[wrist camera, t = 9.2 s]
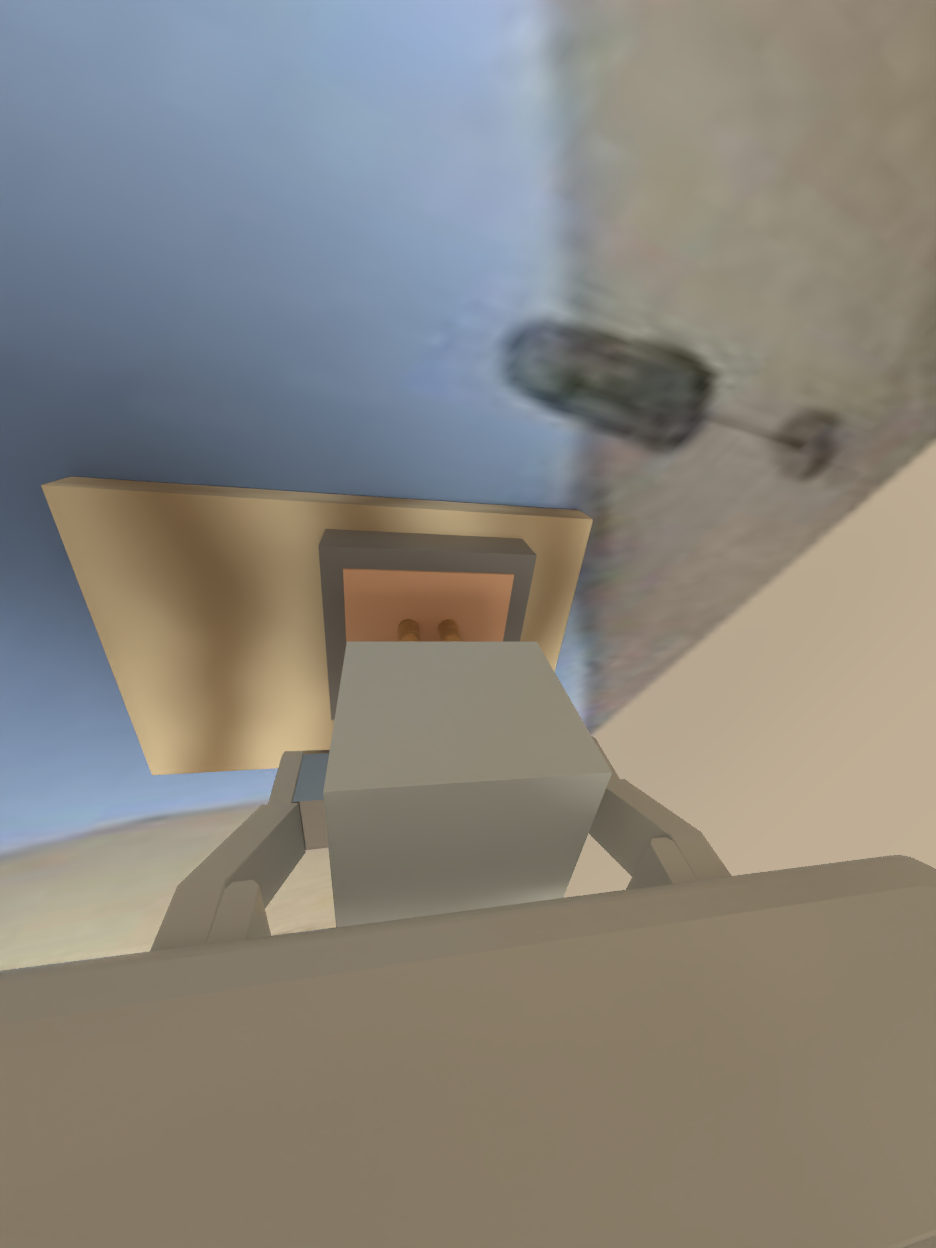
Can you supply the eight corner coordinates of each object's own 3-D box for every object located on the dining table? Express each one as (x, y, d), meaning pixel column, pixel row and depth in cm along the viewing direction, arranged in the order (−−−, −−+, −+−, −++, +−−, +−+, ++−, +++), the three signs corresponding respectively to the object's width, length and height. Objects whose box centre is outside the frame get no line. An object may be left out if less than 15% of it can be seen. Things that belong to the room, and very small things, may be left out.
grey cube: (352, 779, 14) (338, 946, 10) (346, 641, 12) (323, 791, 7) (508, 769, 15) (555, 917, 11) (536, 641, 13) (612, 772, 8)
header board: (165, 752, 22) (89, 879, 16) (70, 476, 15) (-117, 532, 10) (526, 735, 26) (565, 833, 20) (579, 510, 19) (660, 563, 13)
